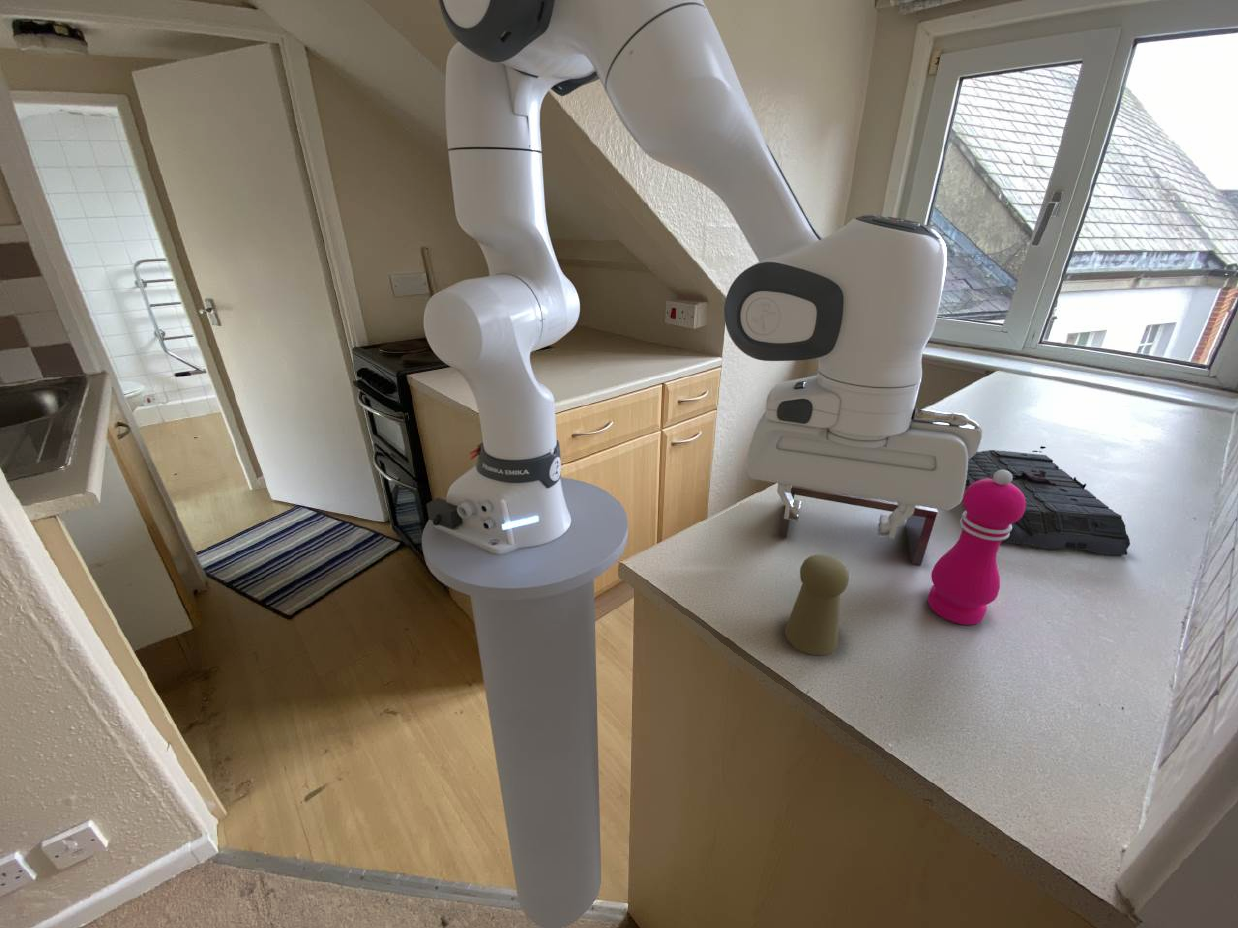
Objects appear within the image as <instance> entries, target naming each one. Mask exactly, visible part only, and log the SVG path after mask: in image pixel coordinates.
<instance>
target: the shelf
mask: <svg viewBox="0 0 1238 928" xmlns="http://www.w3.org/2000/svg"><path fill="white" fill-rule="evenodd" d="M790 493H791V495H792V497H793V500H795V496H800V497H805V498H811V499H817V500H824V501H829V502H834V503H840V504H847V505H851V506H858V507H863V508H868V509H875V510H879V511H885V512H891V513H892V512H893V511H894V510H896V509H897V508H898V504H897V502H892V501H886V500H879V499H873V498H867V497H861V496H854V495H848V494H842V493H836V492H830V491H823V490H817V489H811V488H805V487H798V486H792V488H791V492H790ZM785 507H786V506H784V505H783V507H782V514H781V521H780V527H779V532H778V537H779V538H784V539H787V538H788V534H789V528H790V522H791V520H789V519H784V514H785ZM937 516H938V509H935V508H929V507H923V506H917V505H916V507H915V510H914V514H913V515H911V516H910V517H909V518H908V519H906V520H905V530H906V536H907V537H906V538H907V543H908V547H909V553H910V560H911V564H913V565H918V566H922V563H923V560H924V557H925V554H926V550H927V548H928V544H929V541H930V538H931V535H932V531H933V529H934V525H935V524H936V523H935V522H936V520H937Z"/></svg>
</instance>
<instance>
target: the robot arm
mask: <svg viewBox="0 0 1238 928" xmlns="http://www.w3.org/2000/svg"><path fill="white" fill-rule="evenodd" d="M438 4H439V8H440V13H441V15H442V18H443V20H444V22H445V25H446V26H447V28H448V30H449V32H450V34H452V36H453V37H454V38H455V40H457V42H456V43H455V44H454V45H453V46H452V47H451V49H450V51H449V53H448V55H447V59H446V64H445V80H444V81H445V82H444V115H445V116H444V118H445V135H446V143H447V150H448V151H447V154H448V162H449V163H448V164H449V171H450V172H449V173H450V179H451V189H452V197H453V205H454V212H455V213H454V214H455V218H456V221H457V223H458V225H459V226H460V228H461V229H462V230H463V231H464V232H465V234H467V235H468V236H469V237H471V238H472V239H474V240H475V241H476V243H477V244H478V246H479V248H480V249H481V251H482V254H483V256H484V258H485V261H486V264H487V265H486V266H487V269H488V273H489V275H487V276H481V277H474V278H468V279H462V280H460V281H458V282H456V283H454V284H452V285H450V286H449V285H448V286H447V287H445V288H444V289H442V290H440V291H438V292H436V293H435V294H433V295H432V296H431V297H429V300H428V301H427V302H426V305H425V307H424V311H423V329H424V335H425V338H426V341H427V343H428V345H429V347H430V348H431V350H432V351H433V353H434V354H435V355H436V357H437V358H439V360H440V361H441V362H443V364H445V365H447V366H449V367H450V368H452V369H454V370H456V371H457V372H458V373H459V374H460V375H461V376H462V377H463V379H464V380H465V382H466V383H467V384H468V386H469V388H470V391H471V392H472V394H473V397H474V400H475V403H476V407H477V412H478V418H479V424H480V425H479V426H480V431H481V437H482V442H481V443H479V444H478V445H476V446H477V447H476V448H475V449H473V450H471V451H470V452H469V453H468V455H470V457H469V460H471V461H472V460H473V459H475V458H476V457H478V458H477V461H476V464H474V465H473V466H472V467H471V468H469V469H468V470H467V471H466V472H464V473H463V474H462V475H460V476H459V477H458V478H457V479H455V481H454V482H452V484H451V485H450V486H449V488H448V489H447V494H446V499H443V498H441V497H436V498H434V499H433V500H430V501H429V502H427V503H426V504H425V506H426V510H427V515H428V521H429V520H432V521H433V524H434V527H435V528H436V529H438V530H441V531H443V532H445V533H447V534H450V535H452V536H454V537H457V538H459V539H461V540H463V541H466V542H468V543H470V544H472V545H475V546H477V547H479V548H481V549H484V550H486V551H488V552H491V553H493V554H496V555H501V554H505V553H508V552H511V551H514V550H516V549H521V548H528V547H534V546H539V545H543V544H546V543H549V542H551V541H553V540H555V539H557V538H559V537H560V536H561V535H563V534H564V533H565V532H566V531H567V530H568V528H569V527H570V524H571V516H570V514H569V511H568V509H567V506H566V503H565V499H564V495H563V491H562V486H561V480H560V477H562V457H561V446H560V445H561V444H560V441H559V440H558V439H557V422H556V420H557V419H556V405H555V403H556V402H555V396H554V395H553V393H552V391H551V390H550V388H549V387H547V386H546V385H544V384H543V383H542V382H539V381H538V380H537V378H536V377H535V374H534V371H533V368H532V363H531V353H532V352H535V351H537V350H540V349H543V348H545V347H549V346H551V345H553V344H555V343H557V342H558V341H560V340H561V339H562V338H564V337H565V336H566V335H567V334H568V333H570V332H571V331H572V329H574V327H575V326H576V324H577V323H578V320H579V318H580V312H581V304H580V303H581V302H580V298H579V293H578V292H577V289H576V287H575V285H574V284H573V283H572V281H570V279H569V278H567V276H566V275H565V274H564V273H563V271H562V269H561V267H560V264H559V262H558V259H557V256H556V253H555V250H554V247H553V243H552V240H551V236H550V233H549V227H548V222H547V213H546V200H545V187H544V186H545V185H544V172H543V154H542V151H543V150H542V138H541V137H542V135H541V114H540V113H541V108H542V104H543V100H544V98H545V96H546V95H547V93H548V92H549V91H550V90H551V91H552V92H554V93H555V94H556V95H558V96H560V97H565V96H567V95H569V94H571V93H572V92H574V91H576V90H577V89H579V88H580V87H582V86H586V85H589V84H591V83H593V82H596V81H600V83H601V85H602V87H603V89H604V92H605V93H606V96H607V97H608V99H609V101H610V103H611V106H612V107H613V109H614V111H615V113H616V115H617V116H618V118H619V120H620V122H621V124H622V125H623V127H624V128H625V129H626V131H627V132H628V134H630V136H631V137H632V138H633V140H634V141H635V142H636V144H637V145H638V146H639V147H640V149H642V151H643V152H644V153H645V154H646V155H647V156H648V157H649V158H651V159H652V160H654V161H656V162H658V163H660V164H662V165H664V166H667V167H668V168H671V169H672V170H675V171H678V172H680V173H682V174H684V175H686V176H688V177H690V178H692V179H693V180H695V181H697V182H698V183H700V184H702V185H704V186H705V187H706V188H708V189H709V190H710V191H711V192H713V193H714V194H715V195H716V196H717V197H718V198H719V199H720V200H721V202H723V203H724V205H725V207H727V209H728V211H729V212H730V213H731V216H732V217H733V219H734V220H735V222H736V224H737V225H738V227H739V229H740V231H741V232H742V235H743V236H744V238H745V240H746V241H747V243H748V244H749V247H750V249H751V250H752V252H753V253H754V255H755V257H756V259H757V260H758V262H756V263H754V264H753V265H751V266H749V267H747V268H746V269H744V270H743V271H742V272H741V273H739V274H738V276H737V277H736V278H735V279H734V280H733V282H732V284H731V285H730V287H729V289H728V290H727V294H726V298H725V301H724V307H723V317H724V318H723V319H724V325H725V327H726V331H727V333H728V335H729V338H730V339H731V341H732V342H733V344H734V345H735V346H736V347H737V349H738V350H739V351H741V352H742V353H743V354H745V355H746V356H748V357H750V358H752V359H755V360H758V361H764V362H791V361H793V362H794V361H807V360H816V361H817V362H818V367H817V374H815V375H812V376H811V375H810V376H807V377H801V378H796V379H791V380H786V381H785V380H784V381H780V382H778V383H775V385H774V386H772V388H771V389H770V390H769V393H768V394H767V397H766V399H765V409H764V411H763V413H762V414H761V416H760V417H759V419H758V422H757V424H756V427H755V429H754V431H753V435H752V437H751V441H750V443H749V448H748V451H747V456H746V462H745V471H746V473H747V474H748V476H749V477H750V478H751V479H752V480H754V481H761V482H769V483H775V484H777V489H776V492H777V494H778V496H779V497H780V499H781V502H782V504H783V507H784V506H786V507H785V514H784V519H789V520H790V521H795V522H798V521H799V516H800V509H801V503H802V501H801V500H797V499H794V500H793V497H792V495H791V493H790V492H791V488H792V486H798V487H805V488H811V489H817V490H823V491H830V492H836V493H842V494H848V495H854V496H861V497H867V498H873V499H879V500H886V501H892V502H897V504H898V508H897V509H896V510H894V511H893V512H891V513H890V514H889V515H888V514H880V516H879V522H878V524H877V537H884V538H889V539H894V538H895V536H896V532H897V528H898V526H900V525H902V524H903V523H904V522H906V521H907V519H908V518H909V517H910V516H911V515H913V514H914V510H915V507H916V505H917V506H923V507H929V508H935V509H937V510H940V511H941V510H943V511H950V510H952V509H954V508H955V507H957V506H958V505H960V504H961V503H962V502H963V496H964V493H965V491H966V490H965V489H966V486H965V485H966V478H967V470H968V459H970V458H972V457H973V456H974V455H975V454H976V452H978V450H979V447H980V444H981V441H982V438H983V430H982V428H981V426H980V425H979V423H977V422H976V421H974V420H973V419H970V418H969V416H968V415H967V414H964V413H958V412H951V413H948V412H942V411H936V410H931V409H923V408H915V406H916V402H917V399H918V394H919V390H920V385H921V383H922V378H923V368H922V367H923V364H922V360H923V353H924V350H925V347H926V345H927V343H928V341H929V340H930V338H931V337H932V335H933V333H934V329H935V327H936V324H937V323H936V322H937V318H938V314H939V310H940V305H941V300H942V295H943V290H944V286H945V285H944V283H945V277H946V269H947V246H946V243H945V240H944V239H943V238H942V236H941V235H940V233H938V232H937V231H936V229H933V227H931V226H929V225H927V224H922V223H920V222H917V221H913V220H909V219H903V218H898V217H892V216H882V215H877V214H864V215H861V216H860V215H859V216H855V217H854V218H852V219H851V220H849V222H848V223H846V224H845V225H844V226H842V227H841V228H840V229H838V230H836V231H834V232H833V233H830V234H829V235H827V236H825V237H822V236H821V235H820V233H819V232H818V231H817V230H816V229H815V227H814V226H813V224H812V222H811V221H810V219H809V218H808V215H807V214H806V211H805V210H804V208H803V207H802V205H801V203H800V201H799V198H797V195H796V194H795V192H794V190H793V189H792V186H791V185H790V183H789V181H788V180H787V178H786V176H785V174H784V172H783V170H782V168H781V167H780V165H779V164H778V161H777V160H776V158H775V156H774V155H773V153H772V151H771V149H770V147H769V145H768V144H767V142H766V139H765V137H764V135H763V133H762V130H761V128H760V126H759V124H758V121H757V119H756V117H755V114H754V112H753V110H752V108H751V106H750V103H749V101H748V98H747V97H746V95H745V91H744V89H743V87H742V85H741V82H740V80H739V77H738V74H737V72H736V70H735V67H734V65H733V63H732V60H731V58H730V56H729V54H728V51H727V49H726V47H725V43H724V41H723V39H722V37H721V35H720V33H719V31H718V28H717V26H716V24H715V22H714V19H713V17H712V16H711V14H710V12H709V10H708V8H707V5H706V3H705V2H704V0H438ZM967 424H969V425H967Z"/></svg>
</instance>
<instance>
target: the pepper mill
mask: <svg viewBox="0 0 1238 928" xmlns="http://www.w3.org/2000/svg"><path fill="white" fill-rule="evenodd" d="M1011 481H1012V474H1011V473H1010V472H1009V471H1007V470H999V471H997V472H995V474H994V475H993V479H982V480H979V481H976V482H974V483H973V484H971V485H970V486H967V488H966V490H964V494H963V498H962V506H963V508H964V510H965V511H963V513H962V514H961V519H960V520H959V526H960V527H961V528H962V530H961V533H960V536H959V537H958V540H957V541H956V543H955V544H954V545H953V546H952V547H951V548H950V549H949V550H947V552H945V553H944V554H943V555H942V556H941V557H940V558H939V559H938V560H937V561H936V563H935V564H934V566H933V568H932V570H931V573H930V578H931V582H932V584H933V585H932V586H931V588H930V590H929V593H928V596H927V603H928V606H929V608H931V610H932V611H933V612H934V613H935V614H936V615H938V616H940V617H941V618H943V619H945V620H947V621H949V622H952V623H955V624H958V625H964V626H965V625H966V626H970V625H971V626H972V625H973V626H974V625H976V624H979V623H981V622H982V621H983V619H984V618H985V614H986V612H987V609H988V606H987V605H990V604H991V603H993V602H994V601H996V599H997V598H998V595H999V592H1000V589H1001V576H1000V572H999V568H998V562H997V561H998V560H997V555H998V551H999V548H1000V546H1001V543H1002V542H1003V541H1002V540H1005V539H1007V538H1008V537H1009V535H1010V533H1009V532H1010V531H1011V530H1012V525H1011V524H1012V523H1015V522H1016V521H1018V520H1019V519H1020V518H1021V517H1022V516H1023V514H1024V512H1025V509H1026V500H1025V497H1024V495H1023V493H1022V492H1021V491H1020V489H1018V488H1017V487H1016V486H1014V485H1013V484H1011V483H1010V482H1011Z"/></svg>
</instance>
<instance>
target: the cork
mask: <svg viewBox="0 0 1238 928" xmlns="http://www.w3.org/2000/svg"><path fill="white" fill-rule="evenodd" d="M799 577H800V578H799V579H800V582H801V583H802V584H801V587H800V589H799V591H798V595H797V597H796V598H795V602H794V605H793V607H792V610H791V612H790V615H789V617H788V621H787V623H786V625H785V629H784V633H785V638H786V639H787V641H788V643H790V645H791V646H792V647H794V648H795V649H797V651H799V652H802V653H804V654H808V655H812V656H819V657H820V656H826V655H830V654H832V653H833V652H834V651H835V650H836V649H837V646H838V644H839V643H838V641H839V640H838V639H839V627H840V626H839V625H840V610H841V595H842V594H843V593H844V592H845V591H846V589H847V588H848V585H849V582H850V572H849V570H848V567H847V566H846V564H845V563H844V562H843V561H842V560H840V559H839V558H836V557H835V556H832V555H829V554H823V553H820V554H819V553H817V554H812V555H809V556H808V557H807V558H805V559H804V560H803V562H802V564H801V566H800V569H799Z"/></svg>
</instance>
